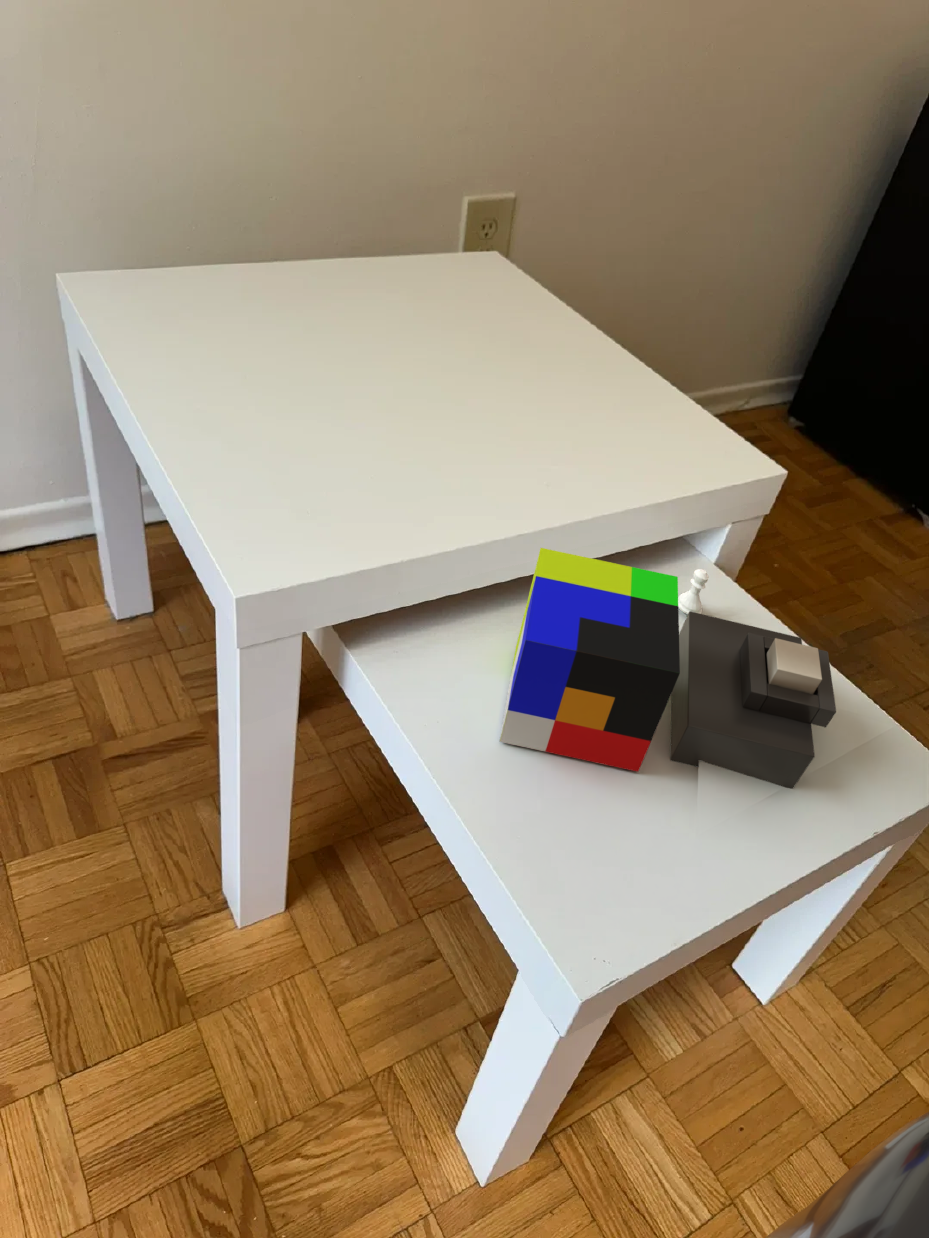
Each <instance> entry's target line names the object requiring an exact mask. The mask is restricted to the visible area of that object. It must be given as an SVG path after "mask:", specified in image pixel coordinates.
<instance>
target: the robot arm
mask: <svg viewBox="0 0 929 1238" xmlns="http://www.w3.org/2000/svg"><path fill="white" fill-rule="evenodd" d="M764 1238H929V1111H927V1112H924V1113H923V1114H921V1115H920V1116H918V1117H916V1118H914V1119H912V1120H910V1121H909V1122H906V1123H905V1124H903V1126H901V1127H900V1128H898V1129H896V1130H895V1131H894V1132H893V1133H891V1134H890V1135H889V1136H887V1137H886V1138H885V1139H884V1140H882V1141H881V1142H880V1143H879V1144H877V1145H876V1146H875V1147H873V1148H872V1149H870V1150H869V1151H868V1152H867V1153H866V1154H865V1155H864V1156H862V1157H861V1158H860V1159H859V1160H858V1161H857V1162H856V1163H855V1164H854V1165H853V1166H852V1167H851V1168H849V1170H847V1171H846V1172H845V1173H844V1174H843V1175H842V1176H840V1177H839V1178H838V1179H837V1180H836V1181H835V1182H834V1183H832V1184H831V1186H830V1187H829V1188H827V1189H826V1190H825V1191H824V1192H823V1193H821V1194H820V1195H819V1196H818V1197H816V1198H815V1199H813V1201H812V1202H810V1203H809V1204H808V1205H807V1206H806V1207H804V1208H802V1209H801V1210H800V1211H797V1213H795V1214H794V1215H792V1216H791V1217H790V1218H788V1219H787V1220H785V1221H784V1222H783V1223H781V1224H780V1225H779V1226H777V1227H776V1228H775V1229H774V1230H773V1231H771V1232H770V1233H769V1234H768V1235H766V1236H765V1237H764Z"/></svg>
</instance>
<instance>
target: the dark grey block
mask: <svg viewBox="0 0 929 1238" xmlns="http://www.w3.org/2000/svg"><path fill="white" fill-rule="evenodd" d="M775 638H777V639H781V640H785V641H789V642H794V643H798V644H802V645H803V639H802V637H800V636H795V635H791V634H787V633H782V632H778V631H774V630H770V629H765V628H762V627H758V626H754V625H753V626H752V625H749V624H745V623H740V622H737V621H732V620H728V619H724V618H720V617H715V616H712V615H707V614H703V613H701V614H699V613H695V612H691V611H690V612H689V613H688V614H686V618H685V620H684V622H683V625H682V627H681V628H680V630H679V655H680V674H679V676H678V679H677V681H676V684H675V686H674V688H673V691H672V693H671V707H670V708H671V710H670V711H671V712H670V741H669V742H670V744H669V745H670V746H669V748H670V749H669V751H670V752H669V760H670V762H671V761H672V762H675V763H679V764H684V765H687V766H692V767H695V768H699V765H700V762H703V763H707V764H709V765H712V766H716V767H719V768H722V769H725V770H728V771H731V772H734V773H739V774H741V775H744V776H747V777H751V778H754V779H757V780H759V781H760V780H761V781H764V782H767V783H770V784H773V785H776V786H780V787H783V788H786V789H791V790H793V789H794V788H795V786H796V785H797V783H798V782H799V780H800V779H801V777H802V776H803V775H804V773H805V772H806V770H807V769H808V767H809V766H810V764H811V763H812V761H813V760H814V758H815V757H816V755H815V747H814V739H813V738H814V737H813V729H812V725H815V726H818V727H823V728H827V727H828V725H829V724H830V722H831V721H832V719H833V718H834V716H835V715H836V713H837V705H836V700H835V699H836V698H835V694H834V693H835V692H834V686H833V685H834V684H833V679H832V678H833V677H832V672H831V671H832V670H831V663H830V658H829V652H828V651H826V650H823V649H819V648H818V652H819V660H820V667H821V675H822V681H821V682H820V684H819V685H818V687H817V688H816V690H815V692H814V693H813V694H809V693H805V692H801V691H796V690H792V689H788V688H784V687H780V686H776V685H771V684H769V683H768V669H767V655H766V654H767V652H768V650H769V649H770V647H771V645H772V643H773V641H774V639H775Z"/></svg>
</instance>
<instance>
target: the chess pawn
mask: <svg viewBox="0 0 929 1238" xmlns="http://www.w3.org/2000/svg"><path fill="white" fill-rule="evenodd" d="M709 578H710V576H709V575H708V572H707V571H706V569H703V568H697V569H695V570H694V572H693V576H692V578H691V579H690V583H691V587H690V589H689V590H687V591H684V592H682V593H681V594H679V595H678V609H679V610H680V611H681V612H683V613H684V614H686V615H688V613H689V612H690V611H691V612H695V613H699V614H703V608H702V607H703V605H702V601H701V597H700V593H701V591H702V590H704V589H706V583H708V581H709Z"/></svg>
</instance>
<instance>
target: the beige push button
mask: <svg viewBox="0 0 929 1238" xmlns="http://www.w3.org/2000/svg"><path fill="white" fill-rule="evenodd" d="M818 649H819V648H818V647H814V646H810V645H806V644H803V643H802V644H798V643H794V642H789V641H785V640H781V639H777V638H775V639H774V641H773V643H772V645H771V647H770V649H769V650H768V652H767V654H766V655H767V669H768V683H769V684H771V685H776V686H780V687H784V688H788V689H792V690H796V691H801V692H805V693H809V694H813V693H814V692H815V690H816V688H817V687H818V685H819V684H820V682H821V681H822V675H821V667H820V660H819V652H818Z"/></svg>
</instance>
